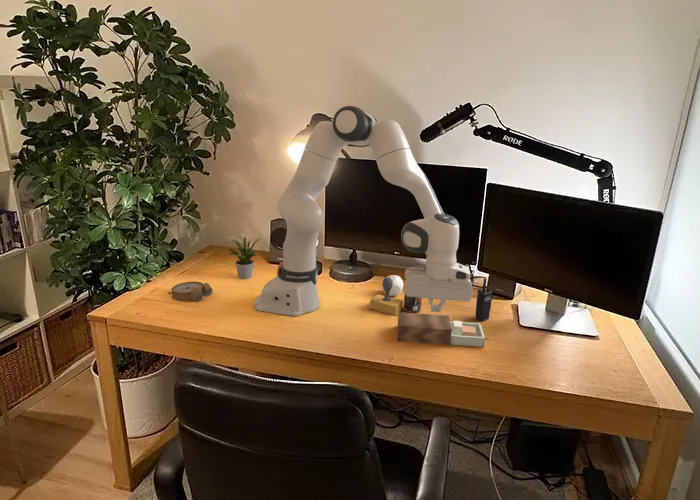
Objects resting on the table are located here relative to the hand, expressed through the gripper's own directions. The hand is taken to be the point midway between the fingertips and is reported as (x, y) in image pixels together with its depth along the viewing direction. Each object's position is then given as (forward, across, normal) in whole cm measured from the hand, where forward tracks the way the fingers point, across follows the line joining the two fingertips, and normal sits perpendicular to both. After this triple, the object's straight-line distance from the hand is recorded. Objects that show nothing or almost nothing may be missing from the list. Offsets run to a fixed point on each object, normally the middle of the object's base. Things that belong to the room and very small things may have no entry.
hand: (435, 311), depth 164 cm
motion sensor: (+9, -14, +31) cm, 35 cm away
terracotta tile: (+6, +11, +1) cm, 12 cm away
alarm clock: (+11, -84, +18) cm, 86 cm away
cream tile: (+6, +6, +1) cm, 9 cm away
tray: (+9, +10, +1) cm, 13 cm away
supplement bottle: (+9, -6, +19) cm, 22 cm away
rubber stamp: (+9, -15, +18) cm, 25 cm away
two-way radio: (+9, +17, +17) cm, 25 cm away
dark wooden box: (+9, -3, +1) cm, 9 cm away
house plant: (+10, -71, +40) cm, 82 cm away
